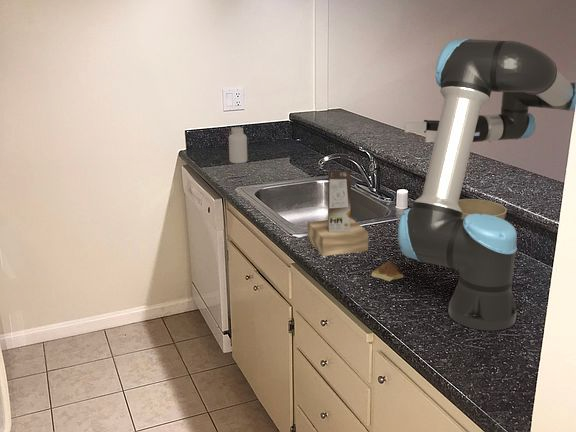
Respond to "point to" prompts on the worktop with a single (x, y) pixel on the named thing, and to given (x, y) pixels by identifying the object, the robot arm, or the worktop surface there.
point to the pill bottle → (237, 146)
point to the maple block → (337, 238)
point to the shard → (387, 272)
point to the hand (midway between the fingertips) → (415, 132)
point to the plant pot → (481, 208)
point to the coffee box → (339, 201)
